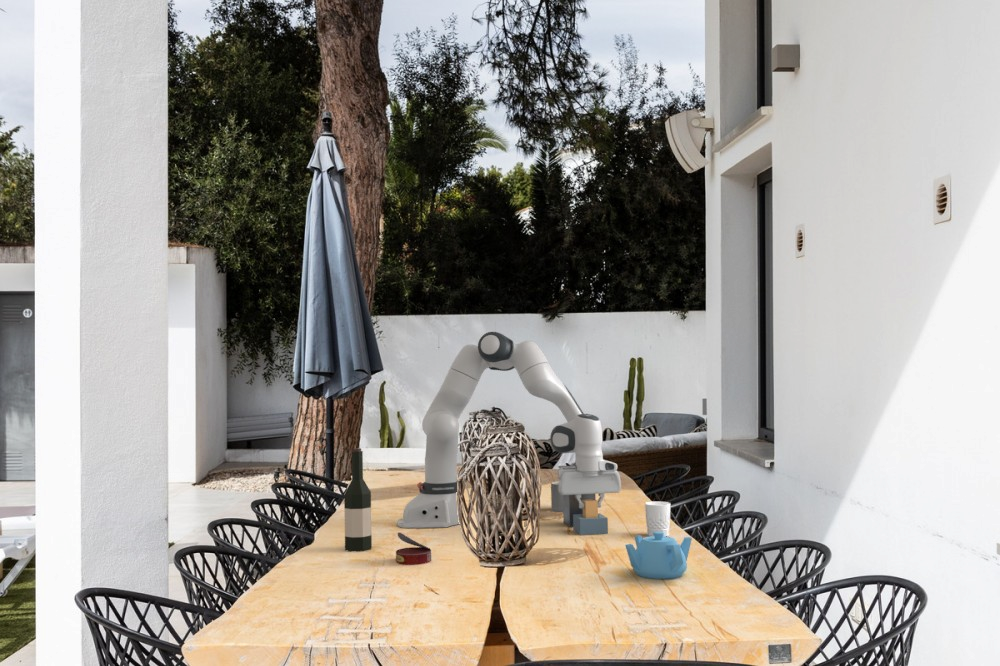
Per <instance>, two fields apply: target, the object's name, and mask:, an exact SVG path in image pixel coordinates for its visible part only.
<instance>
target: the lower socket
mask: <svg viewBox="0 0 1000 666" xmlns="http://www.w3.org/2000/svg"><path fill="white" fill-rule="evenodd" d="M608 523H609V521H608V517H607V516H605V515H603V514H601V512H600V513H599V512H598V517H595V518H583V514H576V515H573V527H572V528H573V532H575V533H577V534H578V535H580V536H587V535H588V536H591V535H608V534H609V526H608V525H609V524H608Z"/></svg>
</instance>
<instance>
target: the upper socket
mask: <svg viewBox="0 0 1000 666" xmlns="http://www.w3.org/2000/svg"><path fill="white" fill-rule="evenodd" d="M587 499H595V500H597V499H596V494H581V498H580V500H581V501H582V500H587ZM562 514H563V515H562V517H563V518H562V519H563V521H562V522H563V524H565V525H566V526H567V527H568V528H573V515H576V514H583V508H579V502H578V500H577V499H576V495H563V512H562Z"/></svg>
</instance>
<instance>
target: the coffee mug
mask: <svg viewBox="0 0 1000 666" xmlns="http://www.w3.org/2000/svg"><path fill="white" fill-rule="evenodd" d="M550 488H551V489H550V501H551V503H550V504H551V511H552V512H555V513H563V495H562V494H560V493H559V490H558V488H559V480H558V481H552V482H551V483H550Z"/></svg>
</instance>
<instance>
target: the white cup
mask: <svg viewBox="0 0 1000 666" xmlns="http://www.w3.org/2000/svg"><path fill="white" fill-rule="evenodd" d="M644 508H645V510H644V511H645V522H646V527H647V528H646V529H647V530H646V531H647V537H650V536H654V535H653V532H664V535H663V536H667V537H669V536H670V527H671V502H668V501H655V500H654V501H647V502H645V503H644Z"/></svg>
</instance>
